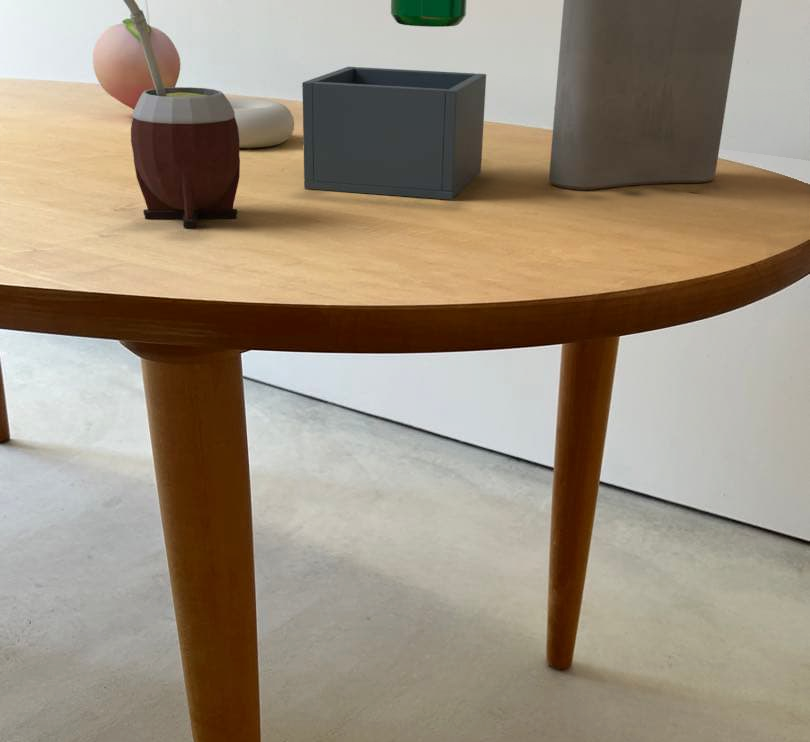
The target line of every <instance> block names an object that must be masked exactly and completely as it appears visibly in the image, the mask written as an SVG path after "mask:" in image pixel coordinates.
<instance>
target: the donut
mask: <svg viewBox="0 0 810 742" xmlns="http://www.w3.org/2000/svg"><path fill="white" fill-rule="evenodd" d="M226 98H227V99H228V101H229V102H230V104H231V106H232V108H233V110H234V112H235V119H236V122H237V126H238V132H239V149H255V148H266V147H273V146H277V145H281V144H283V143H284V142H286V141H288V139H289V138H290V137H291V136H292V135H293V132H294V131H295V119H294V116H293V114H292V111H291V110H290V108H289V107H287V106H286V105H285V104H283V103H281V102H278V101H275V100H268V99H261V98H246V97H244V98H243V97H241V98H240V97H237V98H236V97H230V98H228V97H226Z"/></svg>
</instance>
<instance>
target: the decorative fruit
mask: <svg viewBox="0 0 810 742" xmlns="http://www.w3.org/2000/svg"><path fill="white" fill-rule="evenodd" d="M121 22H122V23H118V24H114V25H111V26H109V27H108V28H107V29H105V30H103V32H102V33H101V34H100V35H99V36H98V38H97V40H96V42H95V44H94V47H93V52H92V66H93V71H94V74H95V77H96V79H97V81H98V83H99V84H100V86H101V88H102V89H103V90H104V91H105V93H107V94H108V95H109V96H110V97H112V98H113V99H115V100H117V102H120V103H121V104H123V105H124V106H126V107H128V108H130V109H132V111H134V109H135V107H136V105H137V102H138V100H139V99H140V97H141V95H142V93H143V92H144V91H146V90H150V89H155V86H154V83H153V80H152V76H151V73H150V70H149V66H148V63H147V60H146V57H145V53H144V50H143V47H142V43H141V40H140V37H139V34H138V31H137V30H135V27H134V25H133V22H132V19H131V18H125V19H123V20H122V21H121ZM147 25H148V26H147V32H148V35H149V39H150V42H151V46H152V49H153V52H154V56H155V59H156V62H157V66H158V69H159V72H160V76H161V79H162V82H163V86H164V88H172V87H177V83H178V81H179V77H180V73H181V57H180V53H179V52H178V49H177V48H176V46H175V44H174V42H173V41H172V40H171V38H170V37H169V36H168V35H167V34H166V32H164V31H162V30H160V29H159V28H157V27H154V26H151V25H150V24H148V23H147Z"/></svg>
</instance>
